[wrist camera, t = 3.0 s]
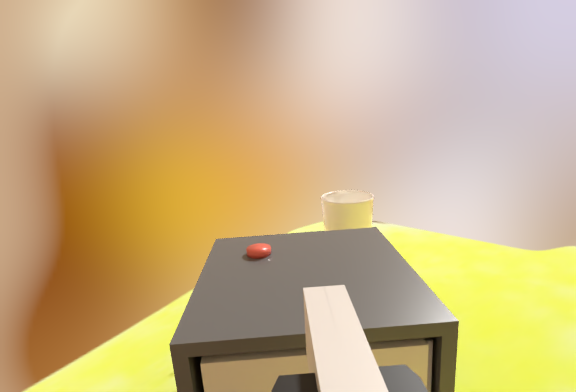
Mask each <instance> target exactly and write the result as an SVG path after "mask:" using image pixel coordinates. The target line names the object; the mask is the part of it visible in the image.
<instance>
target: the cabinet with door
mask: <svg viewBox="0 0 576 392" xmlns="http://www.w3.org/2000/svg"><path fill="white" fill-rule="evenodd" d="M335 285H345V287H346V290H347V292H348V295H349V297H350V300H351V302H352V304H353V307H354V309H355V312H356V314H357V317H358V319H359V321H360V324H361V326H362V329H363V331H364V334H365V336H366V338H367V341H368V342H379V341H391V340H403V339H415V338H430V339H432V340H433V356H432V379H431V392H454V387H455V371H456V355H457V339H458V323H459V321H458V320H457V319H456V317H455V316H454V315H453V314H452V313H451V312H450V311H449V309H448V308H447V307H446V306H445V305H444V304H443V303H442V302H441V300H440V299H439V298H438V297H437V296H436V295H435V294H434V292H433V291H432V290H431V289H430V288H429V287H428V286H427V284H426V283H425V282H424V281H423V280H422V279H421V278H420V277H419V275H418V274H417V273H416V272H415V271H414V270H413V269H412V267H411V266H410V265H409V264H408V263H407V262H406V261H405V259H404V258H403V257H402V256H401V255H400V254H399V253H398V252H397V250H396V249H395V248H394V247H393V246H392V245H391V244H390V242H389V241H388V240H387V239H386V238H385V237H384V236H383V234H382V233H381V232H380V231H379V230H378V229H377V228H376V227H371V228H357V229H344V230H331V231H317V232H304V233H291V234H277V235H264V236H252V237H237V238H224V239H216V241H215V243H214V245H213V248H212V250H211V252H210V254H209V256H208V259H207V261H206V263H205V266H204V268H203V270H202V272H201V275H200V277H199V279H198V281H197V284H196V286H195V288H194V290H193V293H192V295H191V297H190V299H189V302H188V304H187V306H186V309H185V311H184V313H183V315H182V318H181V320H180V322H179V324H178V327H177V329H176V331H175V333H174V336H173V338H172V340H171V343H170V351H171V357H172V363H173V368H174V374H175V380H176V386H177V392H204V386H203V379H202V373H201V366H200V363H201V360H202V356H211V355H223V354H235V353H247V352H259V351H271V350H283V349H295V348H306V336H305V316H304V296H303V288H307V287H321V286H335Z"/></svg>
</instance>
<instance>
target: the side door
mask: <svg viewBox="0 0 576 392" xmlns="http://www.w3.org/2000/svg"><path fill="white" fill-rule="evenodd" d="M368 343H369V346H370V348H371V351H372V353H373V355H374V358H375V360H376V363H377V365H378V366H391V365H404V364H405V365H407V366H408V367H409V368H410V369H411V370H412V371H413V372H415V373H416V374H417V375H418V376H419V377H420V378H421V380H422V382H423V383H424V385H425V387H426V389H427V391H428V392H431V379H432V356H433V340H432V339H430V338H415V339H403V340H391V341H379V342H368ZM200 366H201V373H202V379H203V386H204V392H271V390H272V388H273V386H274V384H275V382H276V380H277V378H278V376H279V375H292V374H305V373H309V369H308V361H307V354H306V348H295V349H283V350H271V351H259V352H247V353H235V354H223V355H211V356H202V360H201V363H200Z"/></svg>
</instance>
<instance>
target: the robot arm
mask: <svg viewBox="0 0 576 392" xmlns="http://www.w3.org/2000/svg"><path fill="white" fill-rule="evenodd" d="M303 296H304V316H305V336H306V354H307V361H308V369H309V373H305V374H292V375H279V376H278V378H277V380H276V382H275V384H274V386H273V388H272V390H271V392H428V391H427V389H426V387H425V385H424V383H423V382H422V380H421V378H420V377H419V376H418V375H417V374H416V373H415V372H413V371H412V370H411V369H410V368H409V367H408V366H407V365H405V364H404V365H391V366H378V365H377V363H376V360H375V358H374V355H373V353H372V351H371V348H370V346H369V343H368V341H367V338H366V336H365V334H364V331H363V329H362V326H361V324H360V321H359V319H358V317H357V314H356V312H355V309H354V307H353V304H352V302H351V300H350V297H349V295H348V292H347V290H346V287H345V285H335V286H321V287H307V288H303Z"/></svg>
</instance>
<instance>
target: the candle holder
mask: <svg viewBox="0 0 576 392" xmlns="http://www.w3.org/2000/svg"><path fill="white" fill-rule="evenodd" d="M373 199H374V196H373V195H372V194H371V193H368V192H365V191H358V190H341V191H333V192H329V193H326V194H324V195H322V196H321V201H322V210H323V221H324V231H331V230H344V229H357V228H371V227H372V215H373Z"/></svg>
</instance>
